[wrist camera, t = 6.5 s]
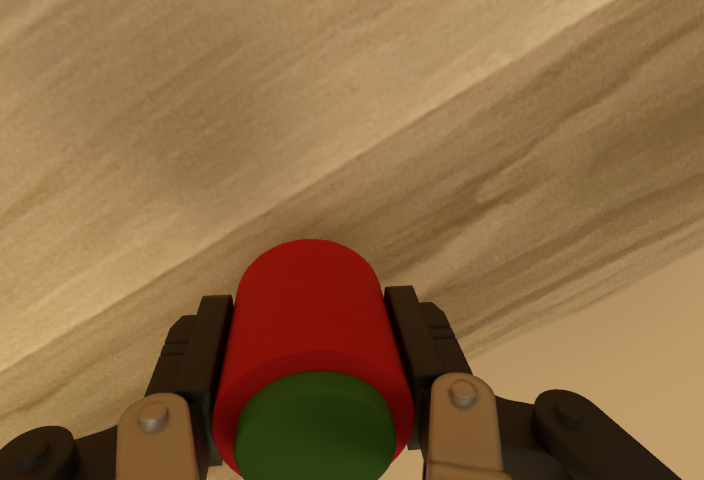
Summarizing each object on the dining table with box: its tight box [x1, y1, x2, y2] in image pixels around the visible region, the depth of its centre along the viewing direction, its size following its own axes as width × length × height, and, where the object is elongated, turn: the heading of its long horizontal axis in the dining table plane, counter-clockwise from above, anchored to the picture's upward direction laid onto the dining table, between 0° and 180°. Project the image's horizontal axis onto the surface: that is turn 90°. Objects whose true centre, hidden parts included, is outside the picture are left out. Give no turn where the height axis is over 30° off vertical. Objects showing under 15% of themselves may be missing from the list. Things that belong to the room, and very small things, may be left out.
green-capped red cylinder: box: [211, 239, 415, 480], centre depth 12 cm, size 4×4×5 cm
